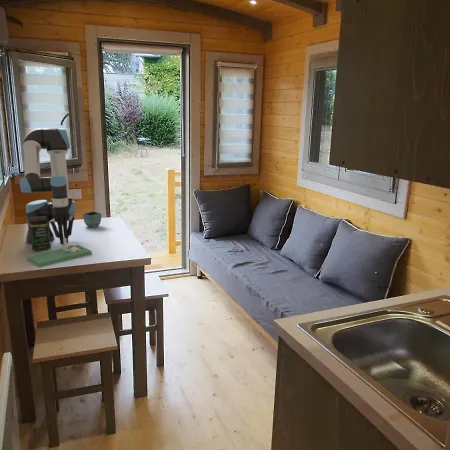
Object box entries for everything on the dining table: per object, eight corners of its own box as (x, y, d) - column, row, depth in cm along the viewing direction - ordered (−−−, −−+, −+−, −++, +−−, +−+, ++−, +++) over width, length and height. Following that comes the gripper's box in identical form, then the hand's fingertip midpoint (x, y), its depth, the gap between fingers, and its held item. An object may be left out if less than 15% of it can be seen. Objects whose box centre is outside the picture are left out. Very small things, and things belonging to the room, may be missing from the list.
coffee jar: (32, 252, 229) (28, 219, 224) (31, 248, 236) (27, 215, 231) (51, 250, 233) (48, 217, 228) (50, 246, 240) (47, 214, 235)
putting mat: (27, 259, 219) (26, 255, 218) (78, 247, 237) (78, 244, 237) (38, 267, 208) (38, 263, 208) (91, 254, 227) (91, 250, 227)
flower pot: (92, 229, 274) (91, 215, 272) (83, 227, 279) (82, 213, 277) (102, 226, 281) (101, 213, 279) (93, 224, 286) (92, 211, 284)
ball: (76, 247, 231) (77, 253, 230) (69, 248, 229) (70, 254, 228) (77, 245, 228) (78, 252, 228) (70, 246, 226) (71, 252, 226)
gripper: (51, 208, 211) (56, 254, 217) (76, 204, 220) (79, 248, 226) (44, 206, 216) (49, 250, 222) (69, 202, 225) (73, 245, 231)
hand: (64, 249), depth 224 cm, fingers closed
